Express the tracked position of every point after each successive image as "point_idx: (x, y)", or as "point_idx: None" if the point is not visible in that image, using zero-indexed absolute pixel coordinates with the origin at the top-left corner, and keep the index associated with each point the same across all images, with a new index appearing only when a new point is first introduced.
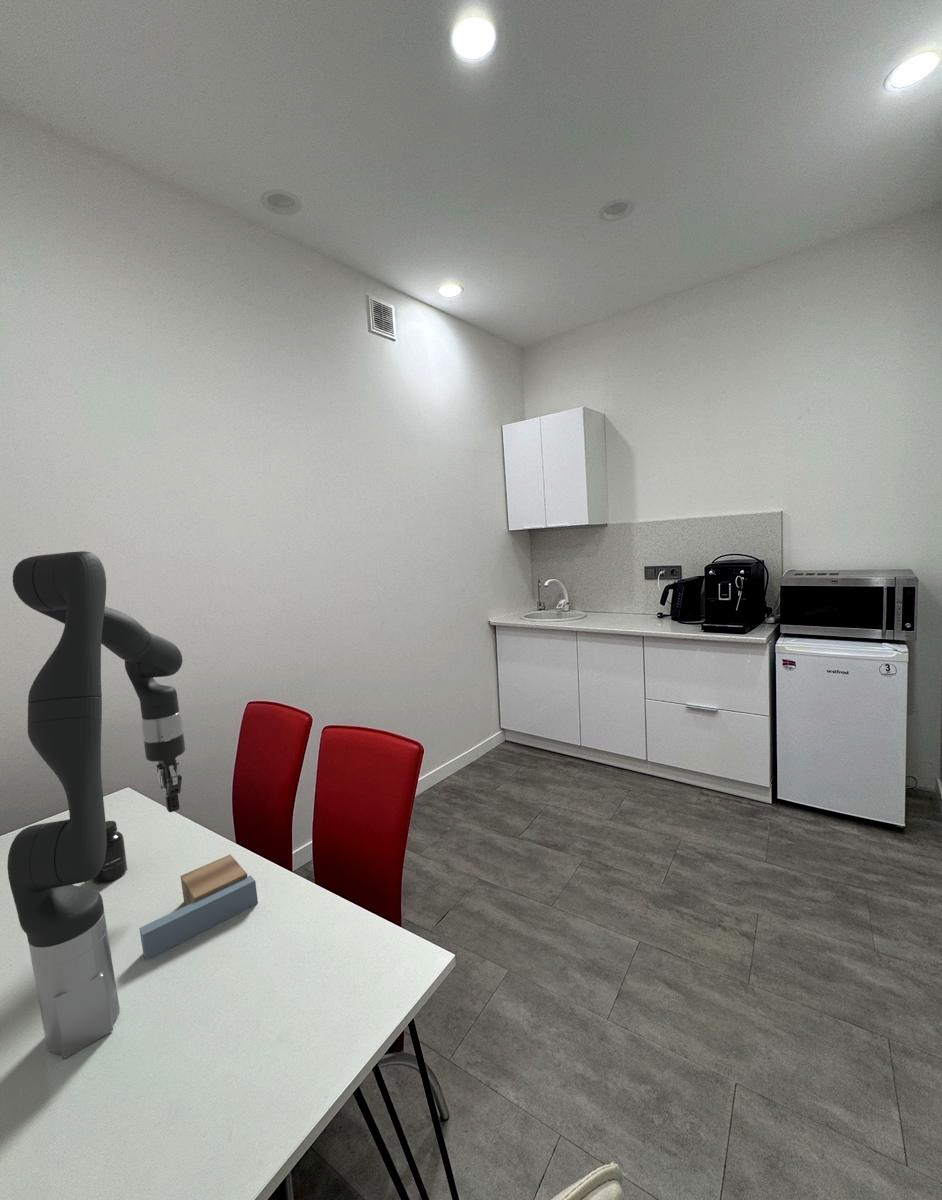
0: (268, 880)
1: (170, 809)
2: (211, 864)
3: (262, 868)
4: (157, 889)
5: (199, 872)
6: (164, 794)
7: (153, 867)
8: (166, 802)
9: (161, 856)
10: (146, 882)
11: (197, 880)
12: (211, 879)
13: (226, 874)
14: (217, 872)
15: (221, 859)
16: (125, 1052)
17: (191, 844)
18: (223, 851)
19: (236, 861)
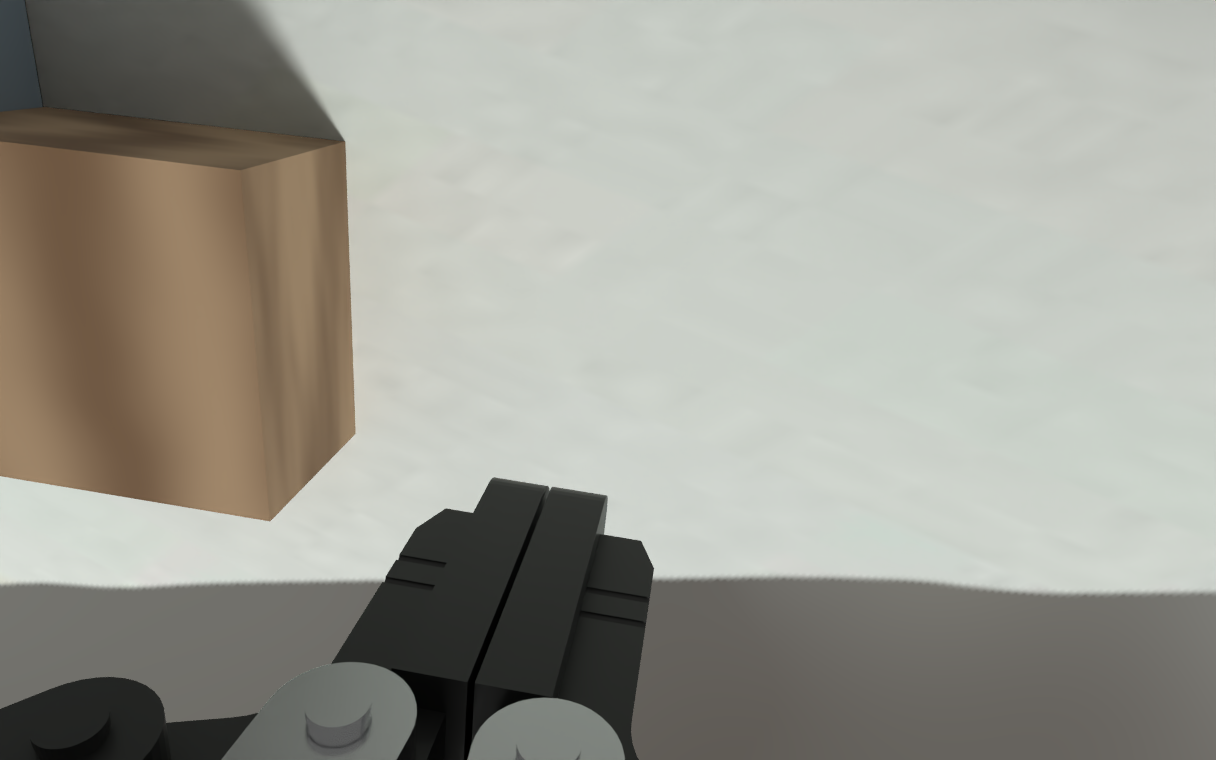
0: (192, 527)
1: (457, 519)
2: (231, 385)
3: (327, 567)
4: (647, 67)
5: (182, 285)
6: (525, 704)
7: (1005, 156)
8: (519, 578)
9: (1115, 260)
10: (827, 40)
11: (85, 231)
12: (31, 300)
13: (30, 389)
14: (92, 364)
15: (246, 456)
16: None
17: (1044, 467)
18: (715, 541)
19: (144, 499)
